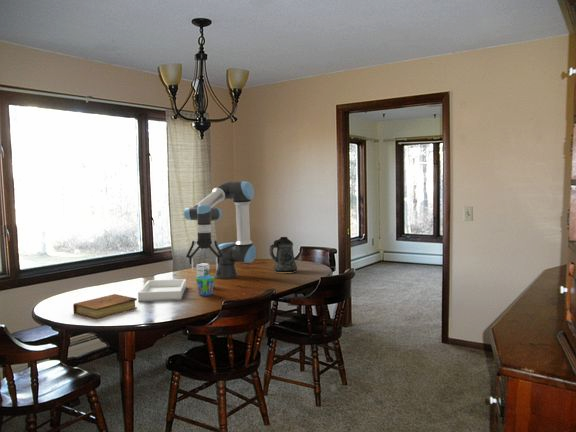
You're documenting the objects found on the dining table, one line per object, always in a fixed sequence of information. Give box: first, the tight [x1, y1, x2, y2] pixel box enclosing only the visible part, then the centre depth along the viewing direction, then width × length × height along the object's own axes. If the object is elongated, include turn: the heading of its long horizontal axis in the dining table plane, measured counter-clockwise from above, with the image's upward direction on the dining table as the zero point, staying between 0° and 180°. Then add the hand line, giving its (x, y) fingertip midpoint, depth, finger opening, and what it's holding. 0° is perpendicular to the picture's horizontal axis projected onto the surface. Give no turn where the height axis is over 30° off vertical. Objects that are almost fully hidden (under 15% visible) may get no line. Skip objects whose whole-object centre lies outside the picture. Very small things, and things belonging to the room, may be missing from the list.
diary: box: [72, 293, 138, 320], centre depth 229 cm, size 23×19×6 cm
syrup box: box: [196, 262, 211, 277], centre depth 280 cm, size 6×6×14 cm
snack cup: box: [195, 275, 216, 297], centre depth 261 cm, size 16×10×10 cm
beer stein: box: [268, 236, 298, 272], centre depth 327 cm, size 16×19×25 cm
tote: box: [137, 278, 187, 303], centre depth 264 cm, size 22×32×5 cm
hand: (204, 269), depth 260 cm, fingers open, 13 cm apart
